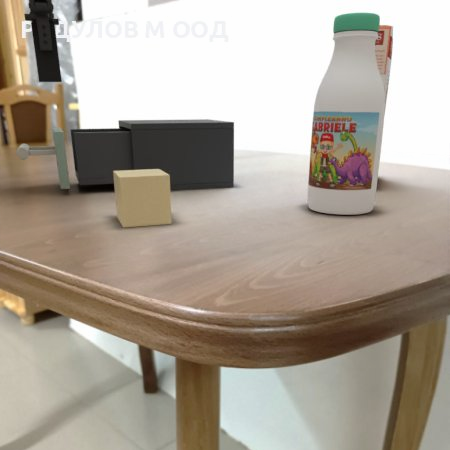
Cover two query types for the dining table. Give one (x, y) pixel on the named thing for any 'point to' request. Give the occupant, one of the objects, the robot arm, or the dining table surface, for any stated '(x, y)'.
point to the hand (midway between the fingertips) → (50, 81)
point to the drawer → (88, 154)
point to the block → (142, 197)
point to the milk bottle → (348, 121)
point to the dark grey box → (185, 151)
